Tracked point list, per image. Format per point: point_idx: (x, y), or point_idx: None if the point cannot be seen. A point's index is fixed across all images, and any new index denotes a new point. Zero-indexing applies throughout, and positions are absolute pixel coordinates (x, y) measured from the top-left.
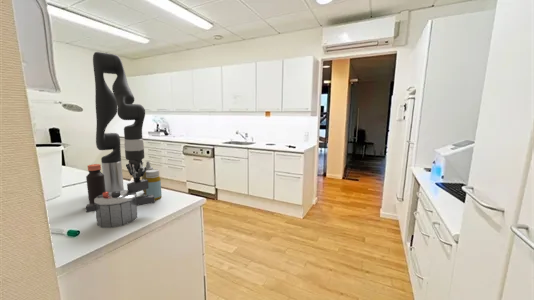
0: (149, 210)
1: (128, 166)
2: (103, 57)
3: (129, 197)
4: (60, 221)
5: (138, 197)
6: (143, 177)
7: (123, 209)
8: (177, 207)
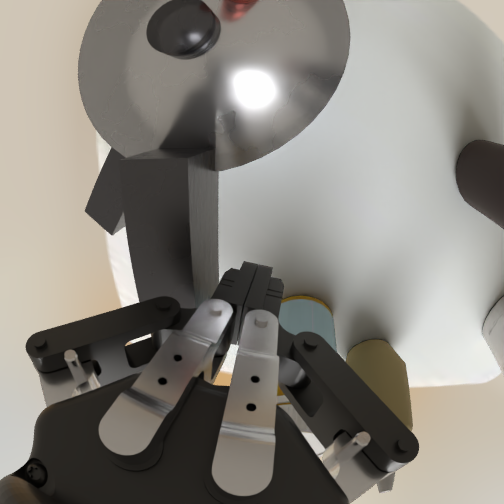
0: None
1: (354, 440)
2: None
3: (87, 78)
4: (451, 8)
5: None
6: (393, 404)
7: None
8: (128, 267)
